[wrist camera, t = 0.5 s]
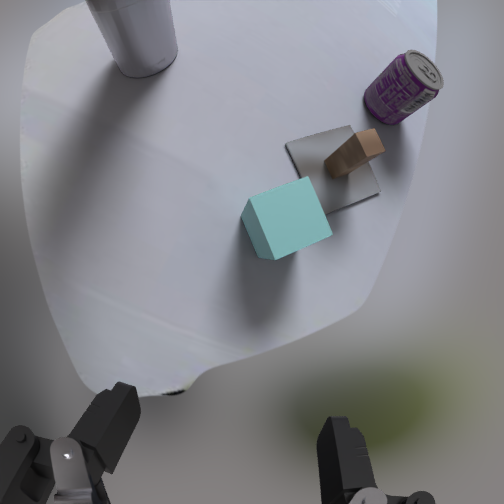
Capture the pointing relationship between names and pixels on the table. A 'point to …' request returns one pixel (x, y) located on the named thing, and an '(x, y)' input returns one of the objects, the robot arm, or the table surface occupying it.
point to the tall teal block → (285, 219)
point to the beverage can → (403, 87)
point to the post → (338, 165)
